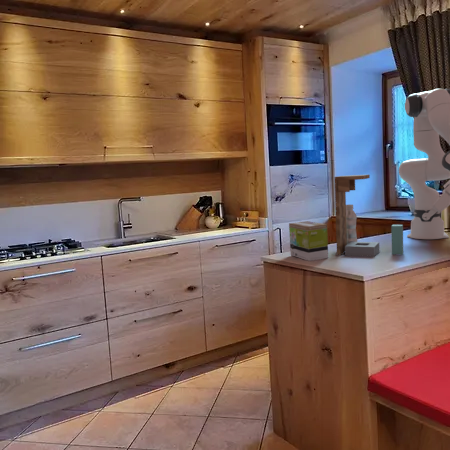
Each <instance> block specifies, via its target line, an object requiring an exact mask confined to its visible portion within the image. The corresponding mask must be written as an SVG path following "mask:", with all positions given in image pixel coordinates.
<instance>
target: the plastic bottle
mask: <svg viewBox="0 0 450 450" xmlns="http://www.w3.org/2000/svg"><path fill="white" fill-rule="evenodd" d="M357 217H358V216H357V214H356V212H355V211H354V204H346V226H347V244H349V243H350V242H359V241H358V238H357V229H356V227H357Z"/></svg>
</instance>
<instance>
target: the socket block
mask: <svg viewBox="0 0 450 450" xmlns="http://www.w3.org/2000/svg"><path fill="white" fill-rule="evenodd" d="M380 251H381V250H380V242H379V241H358V242H350V243H349V244H347V245H346V246H345V252H344V256H351V257H372V256H374V257H376V255H378V254H379V253H380Z"/></svg>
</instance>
